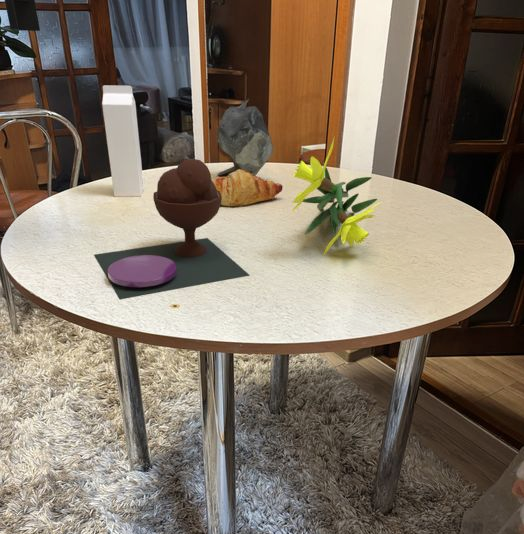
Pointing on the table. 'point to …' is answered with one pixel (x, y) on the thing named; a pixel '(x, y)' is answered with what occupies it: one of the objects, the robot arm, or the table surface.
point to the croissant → (245, 188)
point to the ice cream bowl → (188, 202)
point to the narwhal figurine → (244, 139)
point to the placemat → (188, 268)
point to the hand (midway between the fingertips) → (24, 30)
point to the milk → (123, 140)
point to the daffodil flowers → (332, 191)
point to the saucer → (142, 271)
